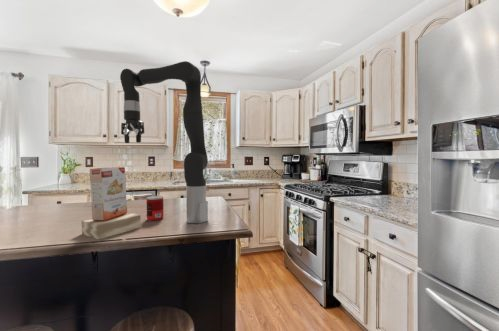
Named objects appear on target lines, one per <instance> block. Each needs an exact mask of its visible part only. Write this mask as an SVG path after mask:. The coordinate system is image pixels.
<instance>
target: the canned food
mask: <svg viewBox="0 0 499 331" xmlns="http://www.w3.org/2000/svg"><path fill="white" fill-rule="evenodd" d="M163 219H164V196H163V195H152V196H150V195H149V196H148V197H147V196H146V220H147V221H149V222H155V221H156V222H157V221H161V220H163Z"/></svg>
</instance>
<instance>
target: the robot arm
mask: <svg viewBox="0 0 499 331" xmlns="http://www.w3.org/2000/svg"><path fill="white" fill-rule="evenodd" d="M201 76H202V74H201V71H200V69H199V68H198V67H197V66H196V65H195V64H193V63H192V62H190V61H186V60H184V61H179V62H177V63H174V64H169V65H166V66H161V67H154V68H145V69H140V70H139V71H138V72H137V71H135V70H132V69H130V68H124V69H122V71H121V72H120V77H119V78H120V83H121V88H122V90H123V96H124V97H123V98H124V99H123V101H124V102H123V119H124V121H125V122H121V126H120V127H121V128H120V130H121V131H120V135H123V136H124V143H125V144H129V143H130V134H131V133H132V132H134V133H135V142H136V143H142V135H143V134H145V122H144V121H141V105H140V93H139V92H140V91H138V90H137V89H136V88H135V87H142V86H145V85H153V84H159V83H160V84H161V83H162V82H164V81H167V80H179V81H182V82H183V83H185V91H186V92H185V93H186V97H185V102H184V105H183V107H182V108H183V109H182V118H183V126H184V129H185V130H184V131H185V132H186V134H187V137H188V139H189V144H190V152H188V153H187V154H186V155H185V157H184V160H183V173H184V180H185V184H186V185H185V188H186V190H185V191H186V194H185V196H186V198H185V199H186V201H185V202H186V204H185V205H186V222H187V223H188V224H202V223H205V222H208V221H209V208H208V207H209V206H208V205H209V202H208V200H207V180H206V179H205V177H204V170H205V169H206V168H207V166H208V153H207V150H206V149H207V148H206V143H205V129H204V128H205V126H204V114H203V106H202V94H201V88H202V85H201V84H202V82H201V81H202V79H201V78H202V77H201Z"/></svg>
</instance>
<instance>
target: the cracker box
mask: <svg viewBox="0 0 499 331" xmlns="http://www.w3.org/2000/svg"><path fill="white" fill-rule="evenodd" d="M89 181H90V182H89V184H90V199H91V215H92V218H93V221H94V220H95V221H105V220H107V219H111V218H114V217H117V216H120V215H123V214H126V213H128V205H127V204H128V200H127V184H126V167H125V166H119V167H118V166H117V167H116V166H115V167H114V166H113V167H98V168H96V167H95V168H89Z"/></svg>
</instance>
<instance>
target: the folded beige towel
mask: <svg viewBox="0 0 499 331" xmlns="http://www.w3.org/2000/svg"><path fill="white" fill-rule="evenodd" d="M141 223H142V222H141V214H137V213H133V212H132V213H131V212H127V213H126V214H123V215H120V216H117V217H114V218H111V219H107V220H105V221H95V220H94V221H93V217H92V218H87V219H83V220H81V234H82V235H84V236H86V237H87V236H88V237H90V238H94V239H97V240H102V239H105V238H107V237H111V236H115V235H119V234H122V233H125V232H130V231H132V230H136V229H140V228H141V227H142V226H141Z"/></svg>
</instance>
